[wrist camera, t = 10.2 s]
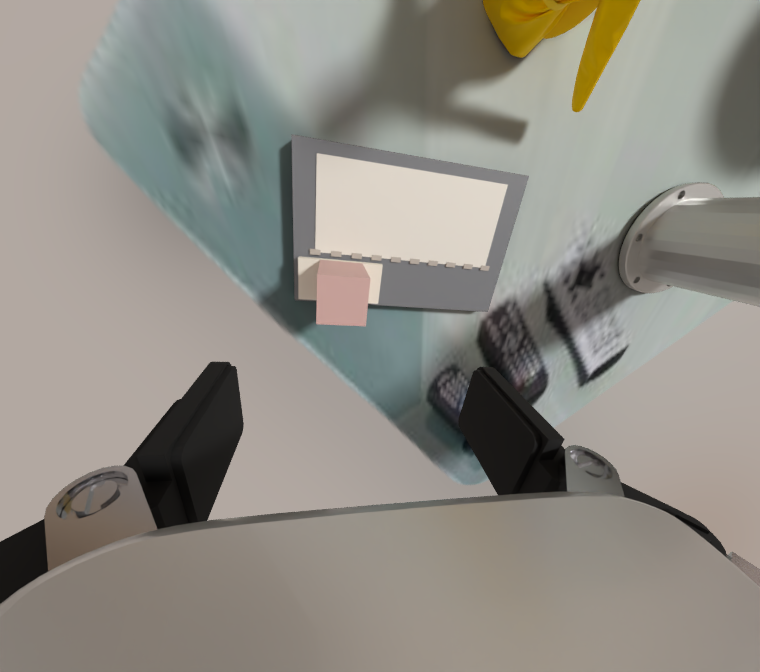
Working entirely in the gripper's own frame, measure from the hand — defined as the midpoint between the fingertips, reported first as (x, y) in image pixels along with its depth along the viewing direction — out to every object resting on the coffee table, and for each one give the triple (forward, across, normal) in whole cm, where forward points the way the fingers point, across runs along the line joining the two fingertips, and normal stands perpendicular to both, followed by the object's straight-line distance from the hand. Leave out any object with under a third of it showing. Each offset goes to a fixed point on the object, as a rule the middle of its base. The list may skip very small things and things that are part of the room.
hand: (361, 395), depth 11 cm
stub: (+19, 0, 0) cm, 19 cm away
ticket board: (+20, -6, -4) cm, 22 cm away
